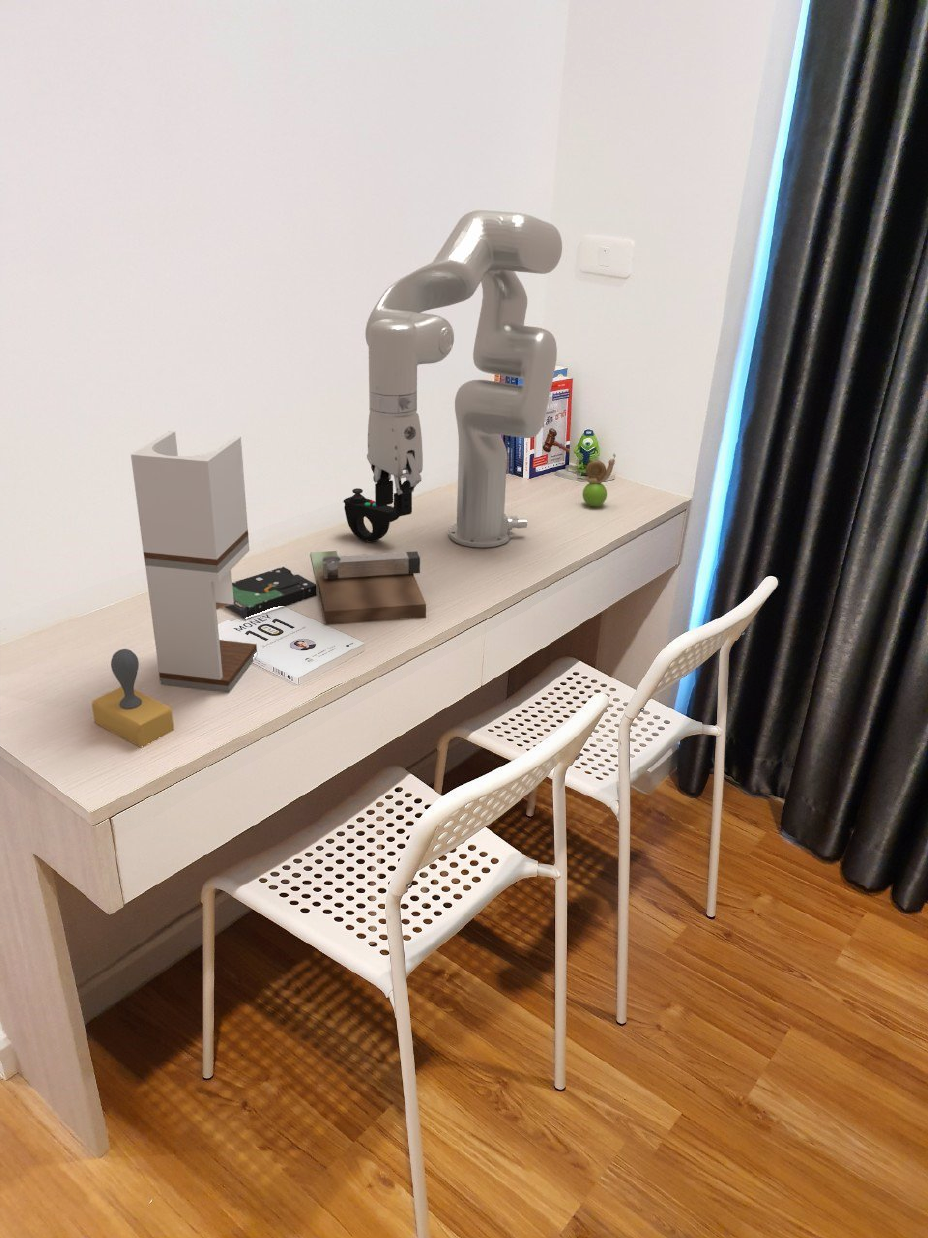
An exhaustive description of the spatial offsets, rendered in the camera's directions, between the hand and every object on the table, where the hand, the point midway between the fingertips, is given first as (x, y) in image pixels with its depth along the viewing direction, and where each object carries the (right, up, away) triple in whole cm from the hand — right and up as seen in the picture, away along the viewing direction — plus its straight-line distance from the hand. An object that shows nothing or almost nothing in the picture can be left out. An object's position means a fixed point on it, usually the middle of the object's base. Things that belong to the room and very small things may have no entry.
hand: (393, 508), depth 162 cm
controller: (-7, -3, +33) cm, 33 cm away
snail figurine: (+41, +7, +55) cm, 69 cm away
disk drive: (-23, -15, +9) cm, 29 cm away
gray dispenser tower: (-27, -26, -14) cm, 40 cm away
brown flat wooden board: (-6, -12, +14) cm, 20 cm away
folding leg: (-5, -10, +12) cm, 16 cm away
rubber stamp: (-33, -33, -29) cm, 55 cm away
